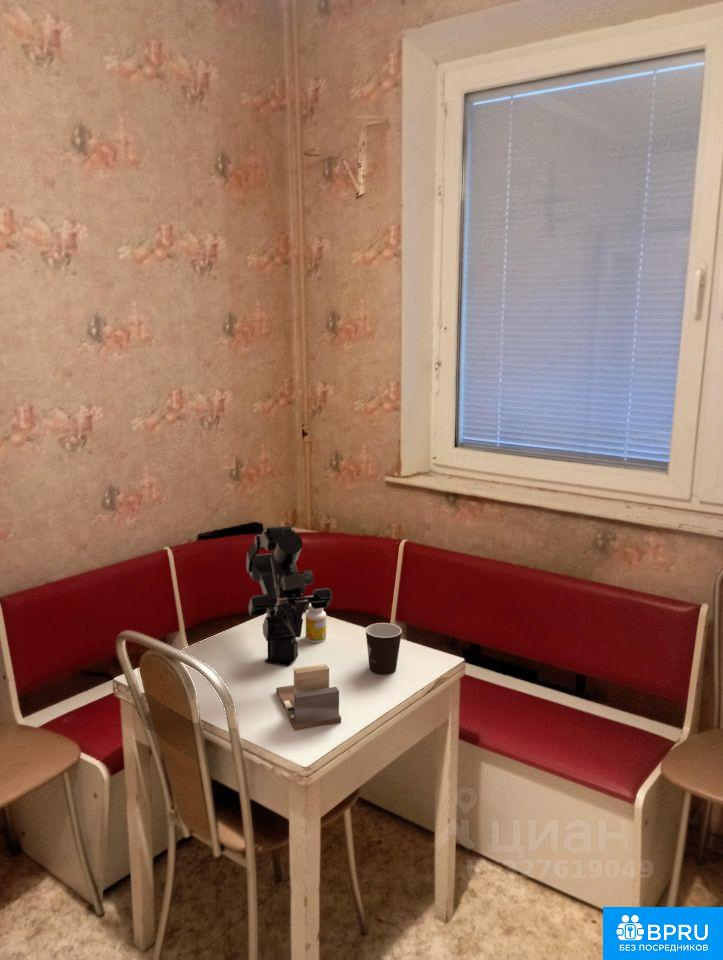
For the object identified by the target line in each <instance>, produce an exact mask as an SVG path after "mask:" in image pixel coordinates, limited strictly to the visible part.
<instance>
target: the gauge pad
mask: <svg viewBox="0 0 723 960" xmlns="http://www.w3.org/2000/svg"><path fill="white" fill-rule="evenodd" d="M293 685H294V693H298V692H304V691H311V690H317V689H324V688H330V667H328V664H327V663H319V664H314V665H307V666H299V667H294V668H293ZM292 710H294V707H290V708H288V711H292Z"/></svg>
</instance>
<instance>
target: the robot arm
mask: <svg viewBox="0 0 723 960" xmlns="http://www.w3.org/2000/svg"><path fill="white" fill-rule="evenodd" d="M303 544H304V543H303V539H302V538H301V536H299V535H298V533H296V531H295V529H293V527H292V525H282V526H281V525H280V526H278V525H277V526H267V527H265V528H264V530H263V531H262V534H257V535H255V536H254V542H253V544H252V545H251V546H250V548H248V549H247V551H246V561H245V562H246V565H245V566H246V572H247V573H249V576H250V578H251V579H252V580H253V581H255V582H257V583H259V585H260V587H261V591H262V594H255V595H252V596H251V598H250V600H249V603H248V613H249V616H250V617H257V616H264V614H265V613H266V616H265V617H264V621H263V623H262V634H263V637H264V639H265V640H266V642H267V657H266V659H265V660H264V663H265V664H266V663H267V664H270V665H271V664H273V665H279V666H280V665H281V666H285V667H286V666H287V667H290V666H291V665H292V664H293V663H294V661H295V660H296V659H297V658H298V656H299V653H298V652H299V651H298V649H299V648H298V647H299V645H298V644H299V643H298V641H297V639H296V638H301V635H302V630H303V623H304V619H303V618H302V617H303V614H306V613H307V612H308V606H309V603H311V607H313V608H314V609H320V608H324V609H326V608H328V607H330V604H331V602H332V600H333V597H334V596H333V592H332V590H331V589H330V588H329V587H323V588H314V589H313V590H312V593H311V594H307V595H303V594H304V593H305V589H307V586H308V585H312V584H314V576H313V571H312V569H306V570H303V571H301V572H302V573H301V574H300V573H299V571H298V568H297V563H296V562H297V561H298V559H299V557H300V553H301V551H302V548H303ZM259 550H261V551H262V550H266V551H267V552H271V551H272V552H273V553H259ZM258 553H259V554H258Z"/></svg>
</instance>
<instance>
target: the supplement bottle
mask: <svg viewBox="0 0 723 960" xmlns="http://www.w3.org/2000/svg"><path fill="white" fill-rule="evenodd" d="M324 609H325V608H320V609H314V608H313V607H311V603H309V606H308V608H307V611H306V613H305V641H307V642H309V643H312V644H319V643H322V642H324V641H326V640H327V613H326V611H324Z"/></svg>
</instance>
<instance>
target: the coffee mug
mask: <svg viewBox="0 0 723 960" xmlns="http://www.w3.org/2000/svg"><path fill="white" fill-rule="evenodd" d="M402 632H403V630H402V628H401V627H400V626H398V625H397V624H393V623H388V622H378V623H377V622H376V623H372V624H369V625H368V626H366V628H365V635H366V636H365V637H366V645H367V647H366V648H367V656H368V657H367V658H368V667H369V671H370V672H371V673H373V674H375V675H378V676H389V675H392V674H394V673H395V672H396V671H397V667H398V665H397V664H398V658H399V653H400V646H401V638H402Z"/></svg>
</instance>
